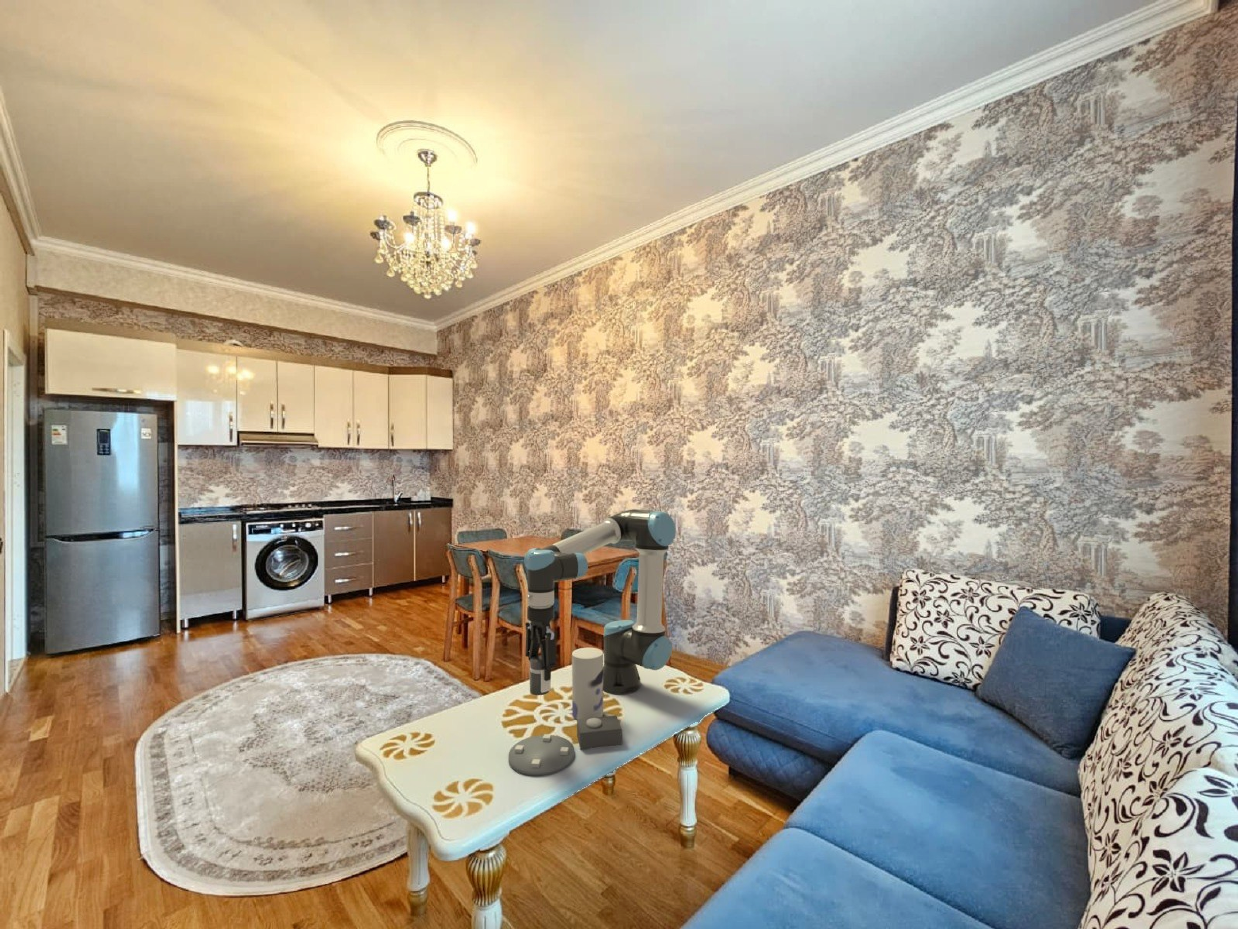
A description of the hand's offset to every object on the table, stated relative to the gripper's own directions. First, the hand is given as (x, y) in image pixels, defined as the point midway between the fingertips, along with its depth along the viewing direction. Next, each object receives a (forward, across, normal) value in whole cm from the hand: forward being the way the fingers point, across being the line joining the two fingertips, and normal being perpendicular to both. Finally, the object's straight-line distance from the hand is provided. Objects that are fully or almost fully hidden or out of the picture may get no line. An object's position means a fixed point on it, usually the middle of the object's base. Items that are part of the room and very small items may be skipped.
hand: (539, 687), depth 144 cm
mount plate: (+18, +3, -1) cm, 18 cm away
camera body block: (+18, +6, +16) cm, 25 cm away
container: (+17, -8, +23) cm, 30 cm away
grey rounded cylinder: (+1, 0, 0) cm, 1 cm away
